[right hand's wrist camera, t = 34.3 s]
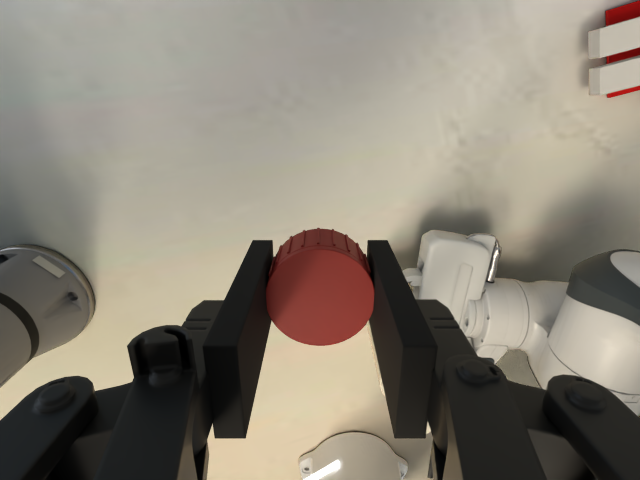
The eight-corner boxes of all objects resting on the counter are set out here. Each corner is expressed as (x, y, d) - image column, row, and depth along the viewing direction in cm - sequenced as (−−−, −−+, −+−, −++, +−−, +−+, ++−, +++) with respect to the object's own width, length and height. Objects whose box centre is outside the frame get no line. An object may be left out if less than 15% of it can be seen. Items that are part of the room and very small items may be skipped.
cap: (333, 207, 14) (335, 225, 12) (387, 284, 15) (397, 312, 13) (251, 261, 14) (240, 287, 12) (308, 331, 15) (307, 364, 13)
